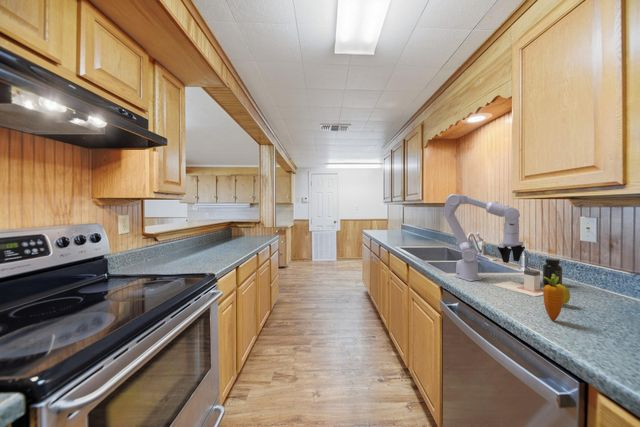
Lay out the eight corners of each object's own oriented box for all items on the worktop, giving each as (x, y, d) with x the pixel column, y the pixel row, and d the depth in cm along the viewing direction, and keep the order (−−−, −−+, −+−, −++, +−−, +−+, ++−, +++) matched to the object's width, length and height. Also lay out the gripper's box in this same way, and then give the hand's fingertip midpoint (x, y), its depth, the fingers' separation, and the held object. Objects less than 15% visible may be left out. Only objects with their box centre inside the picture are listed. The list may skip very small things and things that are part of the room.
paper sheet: (491, 285, 124) (491, 284, 124) (510, 281, 129) (510, 280, 129) (534, 297, 108) (534, 295, 108) (554, 292, 112) (554, 291, 112)
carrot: (556, 325, 82) (556, 277, 82) (539, 318, 87) (539, 273, 87) (567, 323, 84) (567, 275, 83) (549, 316, 89) (550, 272, 88)
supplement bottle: (561, 284, 124) (561, 258, 124) (563, 288, 119) (563, 261, 119) (542, 282, 128) (542, 257, 128) (543, 285, 123) (543, 259, 123)
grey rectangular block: (523, 288, 117) (524, 270, 117) (529, 287, 119) (529, 269, 119) (534, 291, 114) (534, 272, 114) (539, 289, 115) (540, 271, 115)
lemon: (574, 308, 96) (574, 286, 96) (558, 308, 96) (558, 286, 96) (560, 302, 101) (560, 281, 101) (545, 302, 102) (546, 281, 101)
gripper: (510, 234, 119) (509, 264, 120) (530, 233, 125) (530, 262, 125) (494, 233, 126) (494, 261, 126) (514, 232, 131) (514, 259, 132)
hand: (511, 261), depth 126 cm, fingers open, 7 cm apart
